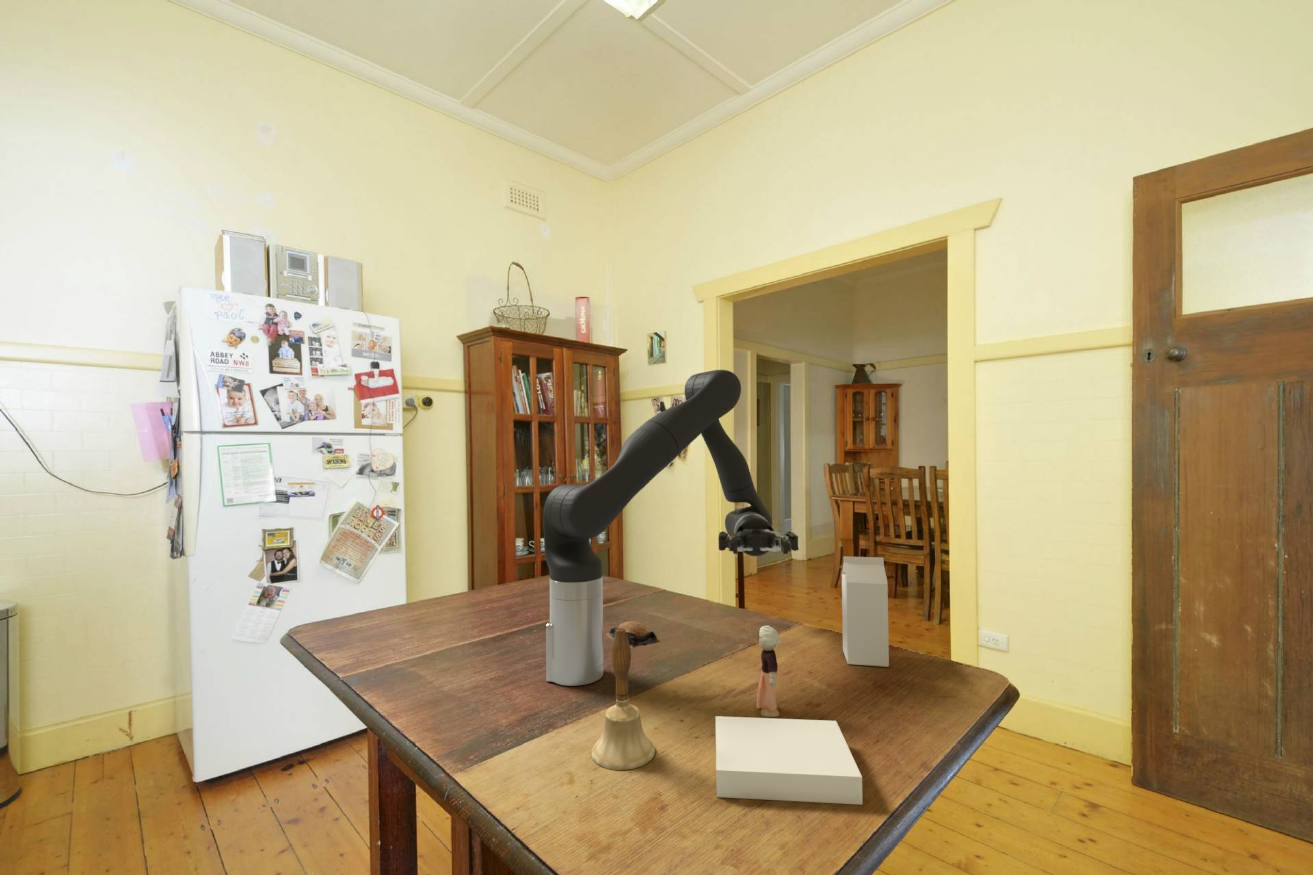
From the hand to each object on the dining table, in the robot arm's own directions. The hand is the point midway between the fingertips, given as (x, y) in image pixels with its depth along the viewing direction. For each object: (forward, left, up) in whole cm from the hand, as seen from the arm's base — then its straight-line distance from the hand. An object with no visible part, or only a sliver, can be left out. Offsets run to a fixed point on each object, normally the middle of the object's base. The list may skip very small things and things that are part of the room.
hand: (760, 548), depth 97 cm
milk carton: (+20, +11, -23) cm, 32 cm away
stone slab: (0, -27, -22) cm, 35 cm away
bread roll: (-25, +20, -23) cm, 40 cm away
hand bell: (-20, -25, -23) cm, 39 cm away
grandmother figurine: (0, -12, -23) cm, 26 cm away
